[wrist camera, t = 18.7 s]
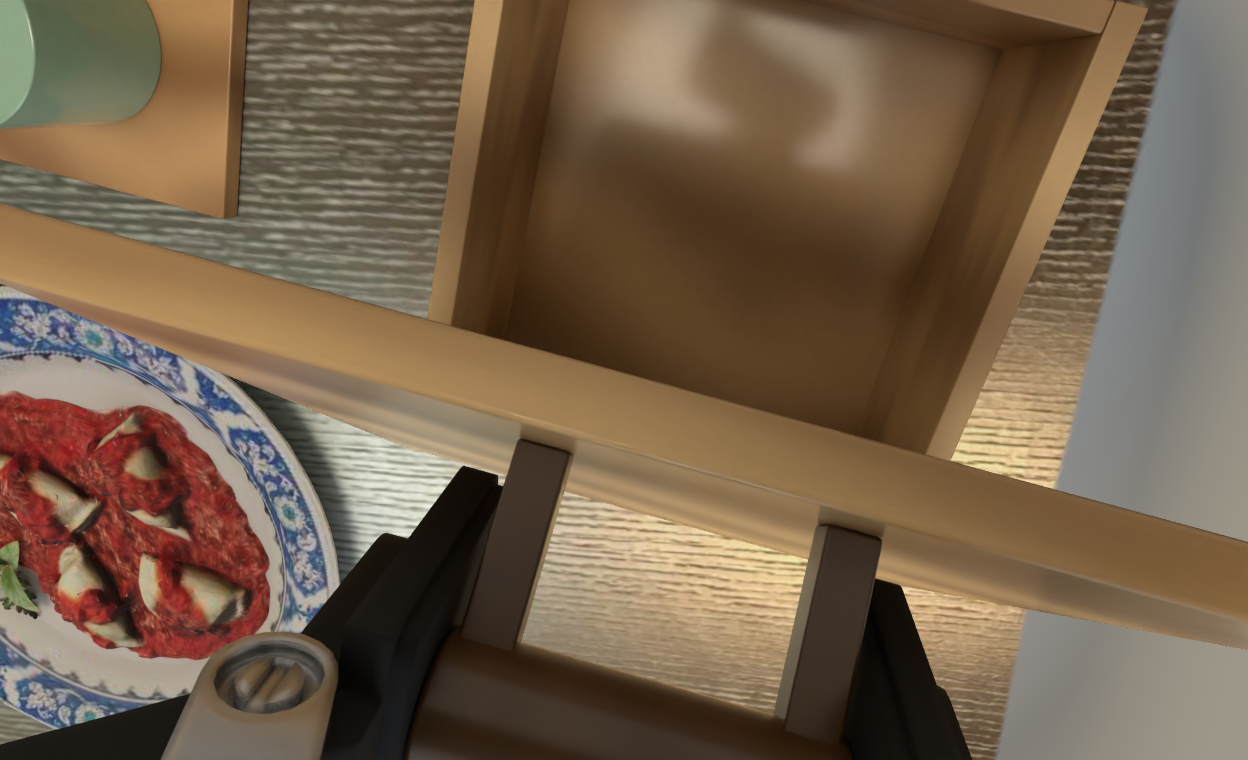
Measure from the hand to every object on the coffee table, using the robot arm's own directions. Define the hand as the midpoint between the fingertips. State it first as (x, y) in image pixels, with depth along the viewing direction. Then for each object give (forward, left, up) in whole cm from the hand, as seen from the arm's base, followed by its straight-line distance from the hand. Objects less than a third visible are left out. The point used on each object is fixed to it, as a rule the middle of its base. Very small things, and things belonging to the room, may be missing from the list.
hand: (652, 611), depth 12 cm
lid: (0, 0, -5) cm, 5 cm away
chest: (-3, 0, -22) cm, 22 cm away
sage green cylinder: (-3, -26, -21) cm, 33 cm away
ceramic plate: (+20, -25, -22) cm, 39 cm away
